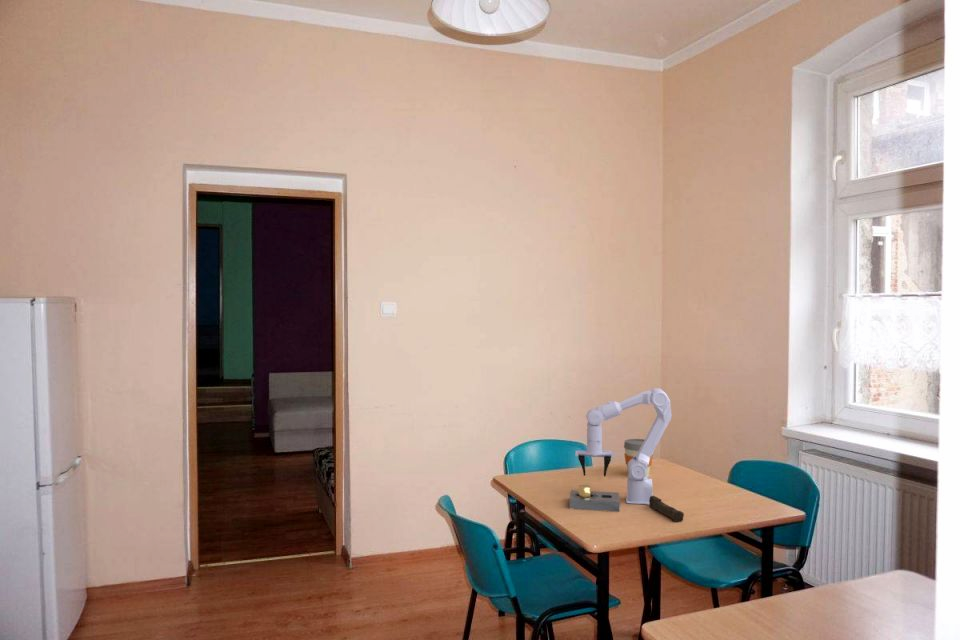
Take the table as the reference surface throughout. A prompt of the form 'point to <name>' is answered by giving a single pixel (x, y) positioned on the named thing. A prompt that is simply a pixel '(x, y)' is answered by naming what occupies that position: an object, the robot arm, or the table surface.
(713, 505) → the table surface
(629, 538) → the table surface
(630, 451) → the reusable coffee cup
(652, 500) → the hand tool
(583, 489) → the brass fitting
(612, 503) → the grey flat block
